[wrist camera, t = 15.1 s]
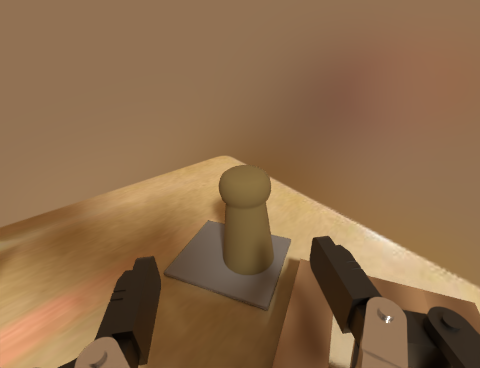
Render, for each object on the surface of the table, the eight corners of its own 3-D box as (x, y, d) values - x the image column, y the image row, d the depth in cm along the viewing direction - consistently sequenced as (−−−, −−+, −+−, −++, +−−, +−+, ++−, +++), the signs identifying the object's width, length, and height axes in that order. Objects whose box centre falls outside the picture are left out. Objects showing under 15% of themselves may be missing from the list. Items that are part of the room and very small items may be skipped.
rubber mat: (164, 274, 27) (163, 272, 27) (208, 222, 35) (208, 220, 35) (267, 310, 23) (267, 307, 22) (290, 241, 31) (290, 239, 30)
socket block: (264, 411, 16) (264, 393, 15) (299, 275, 26) (300, 258, 25) (554, 558, 11) (588, 549, 10) (462, 321, 21) (474, 303, 20)
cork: (239, 232, 32) (233, 155, 27) (282, 246, 29) (285, 163, 24) (212, 263, 28) (199, 177, 22) (260, 283, 25) (258, 191, 20)
